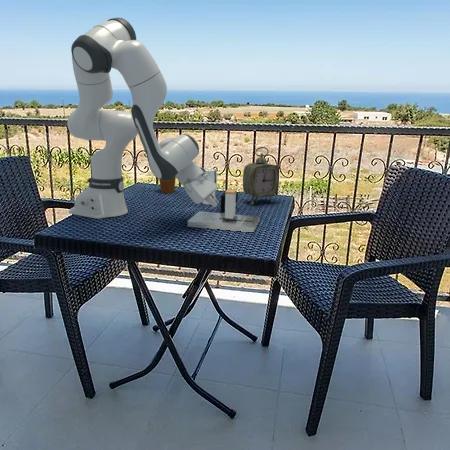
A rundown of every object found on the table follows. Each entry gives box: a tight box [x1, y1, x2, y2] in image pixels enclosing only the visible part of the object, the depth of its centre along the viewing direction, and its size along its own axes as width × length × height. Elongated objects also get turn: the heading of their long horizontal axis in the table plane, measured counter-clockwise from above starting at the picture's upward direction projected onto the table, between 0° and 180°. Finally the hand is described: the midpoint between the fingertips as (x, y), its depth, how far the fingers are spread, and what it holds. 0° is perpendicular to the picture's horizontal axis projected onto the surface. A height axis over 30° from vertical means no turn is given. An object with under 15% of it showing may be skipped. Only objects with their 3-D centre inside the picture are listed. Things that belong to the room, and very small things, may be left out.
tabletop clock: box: [242, 146, 280, 206], centre depth 173 cm, size 14×9×25 cm, turn 120°
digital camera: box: [220, 191, 239, 213], centre depth 163 cm, size 10×5×7 cm, turn 169°
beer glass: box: [201, 168, 218, 206], centre depth 170 cm, size 7×7×15 cm
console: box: [187, 210, 260, 233], centre depth 143 cm, size 24×14×4 cm, turn 76°
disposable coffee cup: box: [158, 176, 177, 194], centre depth 189 cm, size 10×10×12 cm
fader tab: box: [222, 188, 238, 220], centre depth 141 cm, size 5×4×10 cm
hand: (217, 205), depth 142 cm, fingers closed
